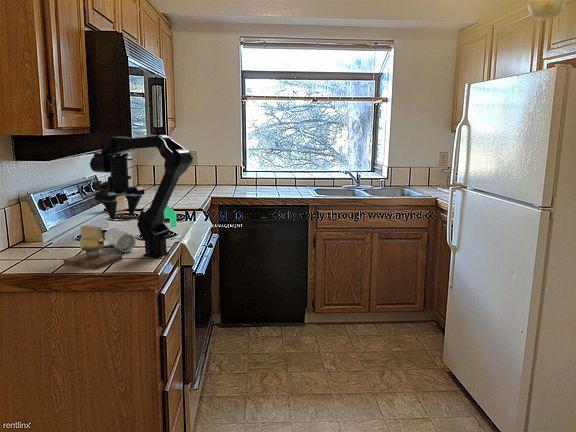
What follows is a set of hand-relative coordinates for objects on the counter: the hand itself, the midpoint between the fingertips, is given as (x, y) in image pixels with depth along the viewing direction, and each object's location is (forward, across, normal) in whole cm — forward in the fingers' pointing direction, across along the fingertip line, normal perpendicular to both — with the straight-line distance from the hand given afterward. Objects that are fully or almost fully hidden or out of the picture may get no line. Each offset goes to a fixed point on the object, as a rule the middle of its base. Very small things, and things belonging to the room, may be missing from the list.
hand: (122, 217), depth 162 cm
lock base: (+12, +15, 0) cm, 19 cm away
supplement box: (+12, -61, -58) cm, 85 cm away
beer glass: (+9, -6, -11) cm, 15 cm away
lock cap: (+7, +15, +1) cm, 17 cm away
